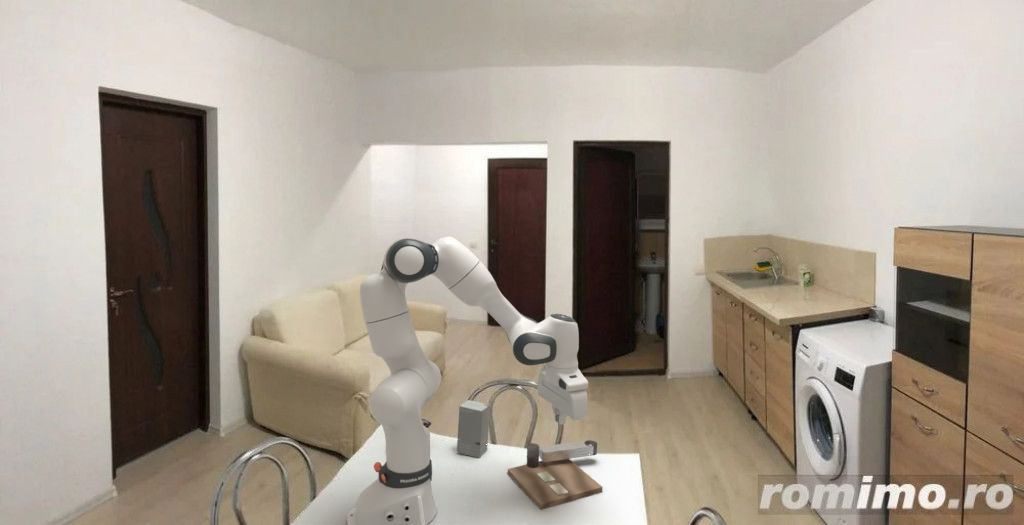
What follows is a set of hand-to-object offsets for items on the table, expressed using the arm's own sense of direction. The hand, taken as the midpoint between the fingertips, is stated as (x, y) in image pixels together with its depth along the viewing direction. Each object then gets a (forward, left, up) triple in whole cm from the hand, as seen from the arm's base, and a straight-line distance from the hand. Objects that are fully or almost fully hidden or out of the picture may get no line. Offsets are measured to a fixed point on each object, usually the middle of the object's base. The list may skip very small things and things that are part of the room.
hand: (559, 422), depth 147 cm
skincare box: (-12, +33, -21) cm, 41 cm away
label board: (+2, +6, -21) cm, 22 cm away
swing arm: (+12, +13, -18) cm, 25 cm away
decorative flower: (-30, +43, -21) cm, 56 cm away
